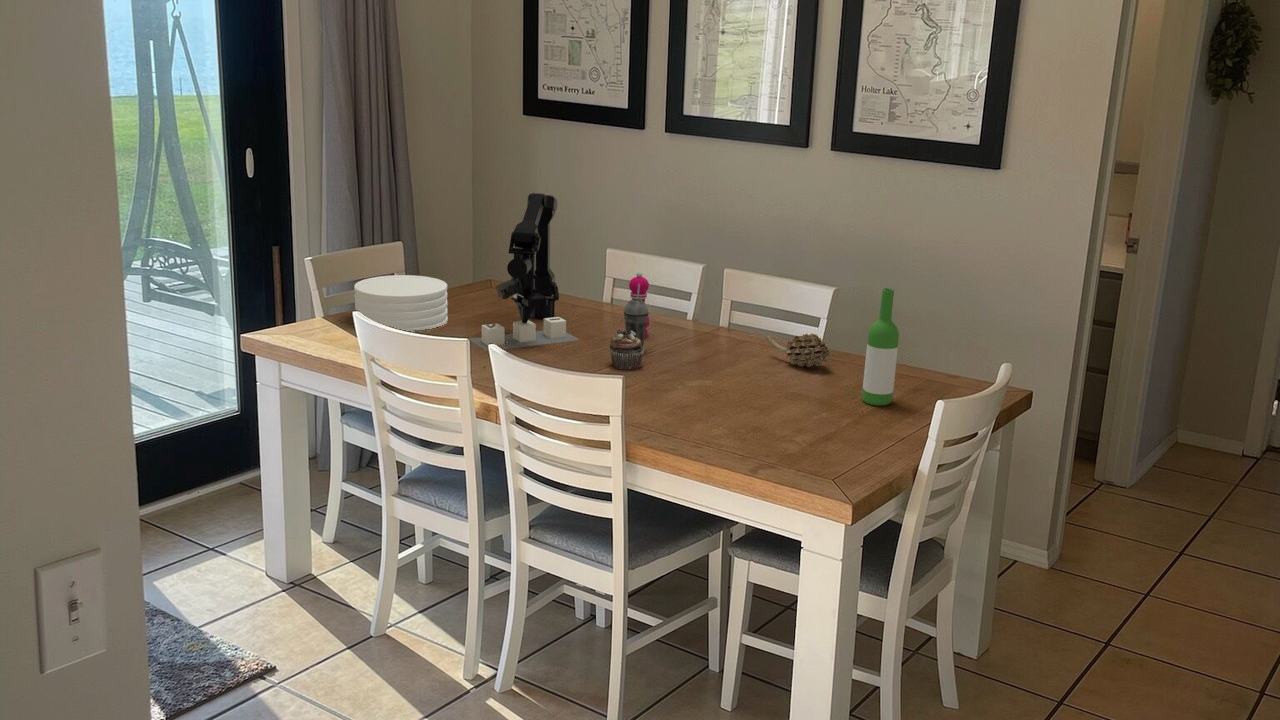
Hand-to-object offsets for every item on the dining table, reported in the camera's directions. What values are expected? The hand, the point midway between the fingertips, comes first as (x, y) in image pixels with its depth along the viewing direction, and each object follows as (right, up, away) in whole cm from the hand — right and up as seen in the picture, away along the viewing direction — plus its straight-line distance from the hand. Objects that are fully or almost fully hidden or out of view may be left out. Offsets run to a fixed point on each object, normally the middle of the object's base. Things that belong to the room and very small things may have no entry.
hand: (524, 323), depth 340 cm
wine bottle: (+96, -22, -40) cm, 106 cm away
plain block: (0, -5, +1) cm, 5 cm away
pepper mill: (+33, -4, +12) cm, 35 cm away
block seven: (-9, -6, -4) cm, 11 cm away
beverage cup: (+32, -9, -4) cm, 34 cm away
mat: (0, -5, +2) cm, 6 cm away
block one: (+8, -4, +6) cm, 11 cm away
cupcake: (+30, -13, -17) cm, 37 cm away
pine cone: (+78, -12, -10) cm, 80 cm away
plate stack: (-40, +1, +19) cm, 44 cm away
